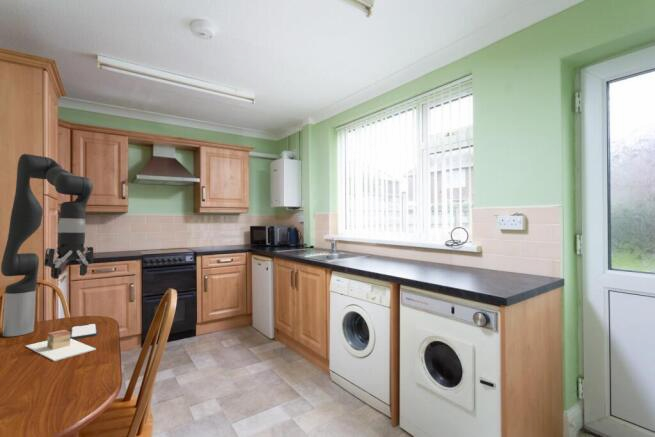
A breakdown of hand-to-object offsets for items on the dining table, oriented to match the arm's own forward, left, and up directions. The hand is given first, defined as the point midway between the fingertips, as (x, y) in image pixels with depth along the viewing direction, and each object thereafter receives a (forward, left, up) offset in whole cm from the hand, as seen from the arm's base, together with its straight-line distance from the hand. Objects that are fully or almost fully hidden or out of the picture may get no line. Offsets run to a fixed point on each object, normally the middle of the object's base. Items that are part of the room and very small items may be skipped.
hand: (69, 276), depth 110 cm
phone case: (-21, +14, -28) cm, 38 cm away
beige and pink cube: (-9, +1, -27) cm, 28 cm away
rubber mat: (-8, +1, -27) cm, 28 cm away
